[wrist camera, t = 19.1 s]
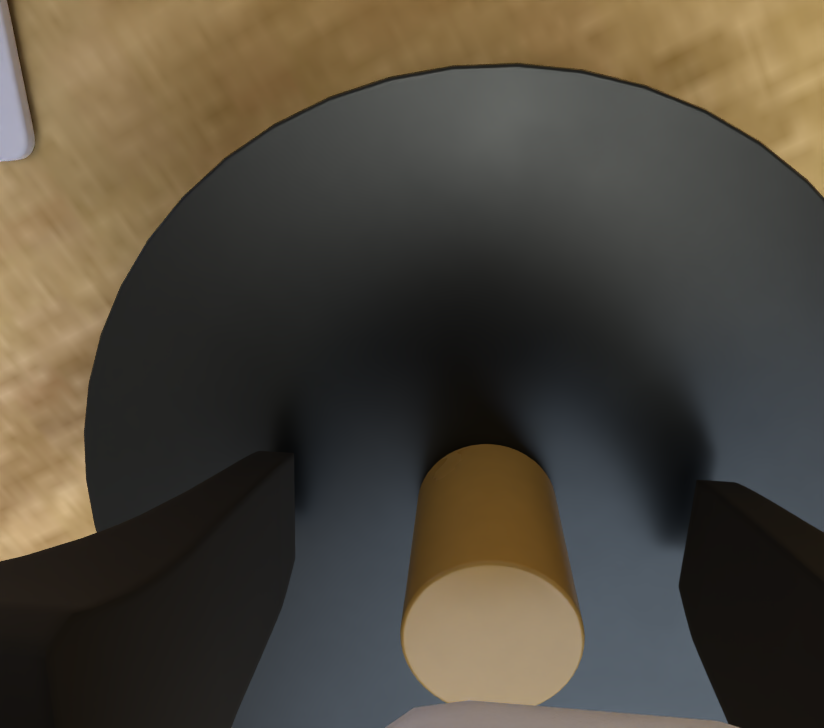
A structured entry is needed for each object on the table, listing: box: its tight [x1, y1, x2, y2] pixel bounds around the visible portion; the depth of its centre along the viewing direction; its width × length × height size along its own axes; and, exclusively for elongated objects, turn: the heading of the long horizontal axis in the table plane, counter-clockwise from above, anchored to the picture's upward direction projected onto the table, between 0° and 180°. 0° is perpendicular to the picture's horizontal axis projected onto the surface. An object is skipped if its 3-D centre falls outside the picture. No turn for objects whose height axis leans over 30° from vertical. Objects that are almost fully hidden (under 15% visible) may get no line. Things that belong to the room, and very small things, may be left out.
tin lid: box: [84, 63, 824, 728], centre depth 12 cm, size 14×14×5 cm
